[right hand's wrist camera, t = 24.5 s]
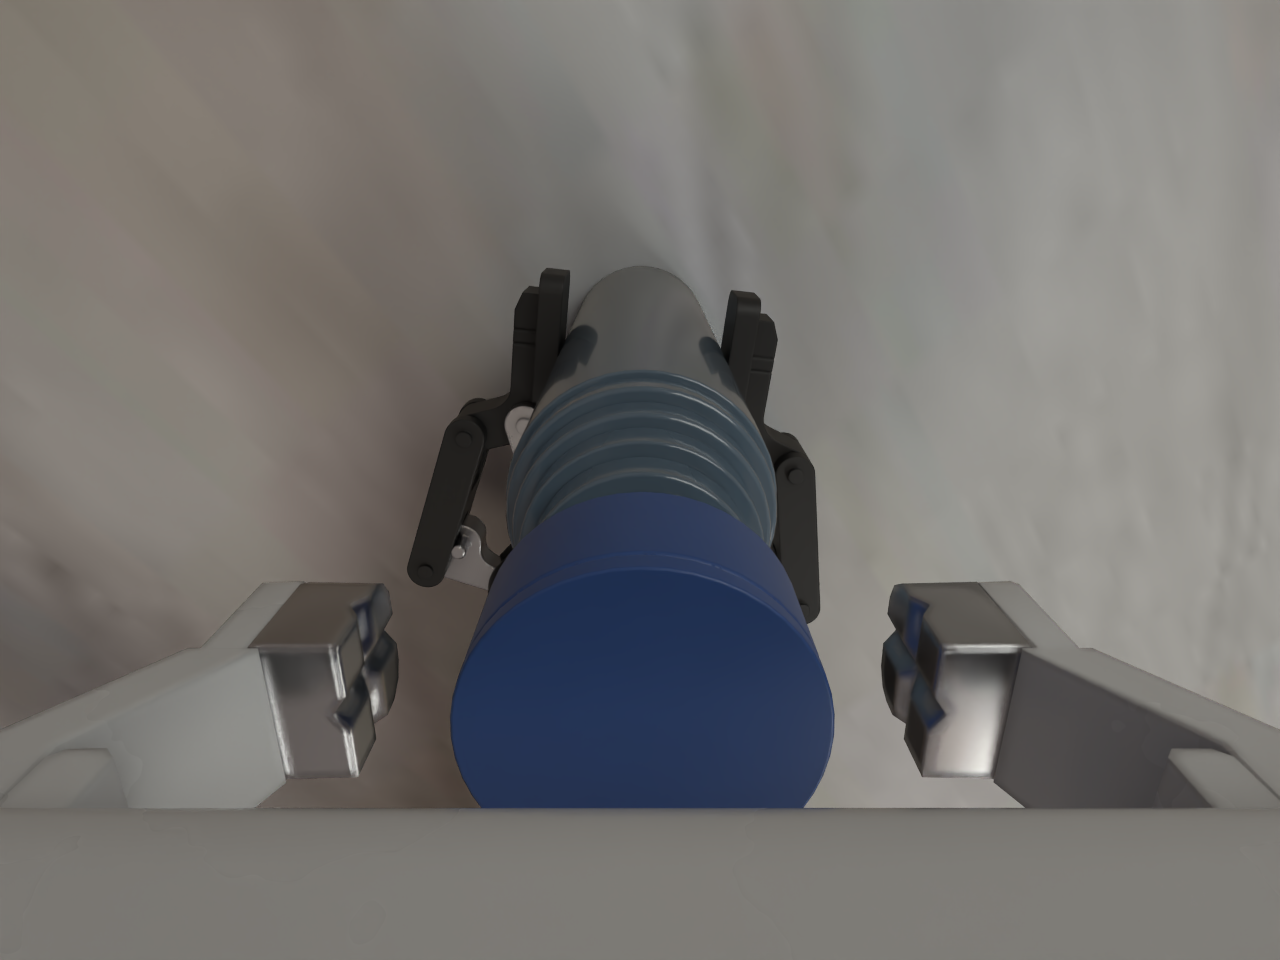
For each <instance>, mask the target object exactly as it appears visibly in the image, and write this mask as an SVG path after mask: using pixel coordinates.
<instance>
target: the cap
mask: <svg viewBox="0 0 1280 960" xmlns="http://www.w3.org/2000/svg"><path fill="white" fill-rule="evenodd" d="M450 726H451V740H452V745H453V750H454V755H455V759H456V762H457V764H458V767H459V770H460V772H461V775H462V778H463V780H464V781H465V783H466V785H467V787H468V789H469V791H470V792H471V794H472V796H473V797H474V799H475V800H476V801H477V803H478V804H479V805H480V807H481V808H804V806H805V805H806V803H807V802H808V801H809V799H810V798H811V796H812V795H813V794H814V792H815V790H816V788H817V786H818V784H819V782H820V780H821V779H822V777H823V774H824V772H825V769H826V766H827V763H828V760H829V757H830V754H831V748H832V743H833V737H834V707H833V700H832V693H831V690H830V687H829V684H828V680H827V677H826V674H825V671H824V669H823V666H822V663H821V661H820V659H819V655H818V653H817V650H816V647H815V645H814V642H813V639H812V636H811V634H810V631H809V628H808V626H807V623H806V620H805V618H804V615H803V612H802V610H801V607H800V604H799V602H798V599H797V596H796V594H795V591H794V588H793V586H792V583H791V581H790V579H789V577H788V575H787V573H786V571H785V569H784V567H783V565H782V564H781V562H780V561H779V560H778V558H777V557H776V555H775V554H774V552H773V551H772V550H771V549H770V548H769V546H768V545H767V544H766V543H765V542H764V541H763V540H762V539H761V538H760V537H759V536H758V535H757V534H756V533H755V532H753V531H752V530H751V529H750V528H748V527H747V526H746V525H745V524H744V523H742V522H740V521H739V520H737V519H736V518H734V517H732V516H731V515H729V514H727V513H726V512H724V511H722V510H719V509H717V508H715V507H713V506H710V505H708V504H706V503H703V502H700V501H696V500H693V499H690V498H687V497H682V496H677V495H671V494H665V493H653V492H632V493H618V494H613V495H608V496H602V497H597V498H594V499H591V500H587V501H585V502H582V503H578V504H576V505H573V506H571V507H569V508H567V509H565V510H563V511H561V512H559V513H556V514H555V515H553V516H552V517H550V518H549V519H547V520H545V521H544V522H542V523H541V524H539V525H538V526H537V527H536V528H534V529H533V530H532V531H531V532H530V533H529V534H527V535H526V536H525V537H524V538H523V539H522V540H521V541H520V542H519V543H518V544H517V546H516V547H515V548H514V549H513V550H512V551H511V552H510V554H509V555H508V557H507V558H506V560H505V561H504V563H503V564H502V566H501V567H500V569H499V571H498V573H497V575H496V577H495V579H494V581H493V584H492V586H491V588H490V591H489V594H488V597H487V599H486V602H485V605H484V608H483V610H482V613H481V616H480V619H479V621H478V624H477V627H476V629H475V632H474V635H473V638H472V640H471V643H470V646H469V649H468V651H467V654H466V657H465V660H464V662H463V665H462V668H461V671H460V673H459V676H458V679H457V683H456V686H455V690H454V693H453V697H452V706H451V714H450Z"/></svg>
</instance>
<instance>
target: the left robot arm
mask: <svg viewBox="0 0 1280 960" xmlns="http://www.w3.org/2000/svg"><path fill="white" fill-rule="evenodd" d="M569 285H570V270H561V269H553V268H546V269H545V270H544V271H543V272H542V273H541V277H540V284H539V287H534V286H529V287H528V288H527V289H526V290H525V291H524V292H523V293H522V295H521V297H520V299H519V301H518V303H517V306H516V308H515V315H514V334H513V353H512V373H511V389H510V392H509V393H508V394H506V395H504V396H501V397H497V398H493V399H489V400H486V399H482V398H475V399H472V400H469V401H468V402H467V403H466V404H465V405H464V406H463V408H462V409H461V411H460V413H459V415H458V417H457V418H455V419H454V420H453V421H452V422H451V423H450V424H449V426H448V427H447V429H446V431H445V434H444V437H443V441H442V444H441V448H440V452H439V455H438V459H437V462H436V466H435V469H434V473H433V477H432V480H431V484H430V487H429V491H428V494H427V498H426V502H425V505H424V509H423V512H422V516H421V519H420V523H419V527H418V530H417V534H416V537H415V541H414V545H413V548H412V552H411V555H410V559H409V562H408V566H407V571H408V575H409V577H410V578H411V580H412V581H413V582H414V583H416V584H418V585H420V586H423V587H433V586H436V585H438V584H439V583H440V582H441V581H442V580H443V578H444V577H446V578H449V579H452V580H456V581H459V582H462V583H465V584H469V585H472V586H475V587H478V588H481V589H485V590H488V594H489V591H490V588H491V586H492V584H493V581H494V579H495V577H496V575H497V573H498V571H499V569H500V567H501V566H502V564H503V563H504V561H505V560H506V558H507V557H508V555H509V554H510V552H511V551H512V550H513V548H512V545H511V544H510V545H509V546H508V547H507V548H506V549H505V550H504V551H503V553H502V554H501V555H500V556H499V555H497V554H495V553H493V552H492V551H491V550H490V549H489V548H488V546H487V544H486V527H485V525H484V523H483V522H482V521H481V520H480V519H479V518H477V517H476V516H473V515H470V514H469V513H470V510H471V507H472V503H473V500H474V497H475V494H476V490H477V487H478V484H479V480H480V477H481V474H482V471H483V467H484V464H485V461H486V457H487V454H488V451H489V449H491V448H496V447H500V446H504V445H509V444H510V446H511V449H512V452H513V454H514V451H515V449H516V447H517V444H518V442H519V440H520V438H521V436H522V434H523V431H524V429H525V427H526V425H527V423H528V421H529V418H530V416H531V414H532V412H533V410H534V408H535V405H536V403H537V401H538V399H539V397H540V395H541V392H542V390H543V388H544V386H545V384H546V382H547V379H548V377H549V375H550V373H551V371H552V369H553V366H554V364H555V362H556V360H557V358H558V356H559V353H560V351H561V349H562V347H563V345H564V343H565V337H566V324H567V311H568V298H569ZM760 312H761V300H760V298H759V297H758V296H757V295H756V294H755V293H752V292H743V291H735V290H731V292H730V295H729V300H728V306H727V312H726V319H725V325H724V332H723V338H722V345H721V351H722V353H723V355H724V357H725V359H726V362H727V364H728V366H729V368H730V370H731V372H732V374H733V376H734V378H735V381H736V383H737V385H738V387H739V389H740V391H741V393H742V395H743V398H744V400H745V402H746V404H747V406H748V408H749V410H750V412H751V415H752V417H753V419H754V421H755V423H756V425H757V427H758V429H759V432H760V434H761V436H762V438H763V440H764V442H765V445H766V447H767V449H768V452H769V454H770V456H771V460H772V464H773V467H774V471H775V478H776V486H777V521H776V527H775V533H774V538H773V541H772V544H771V547H770V549H771V550H772V551H773V552H774V554H775V555H776V557H777V558H778V560H779V561H780V562H781V564H782V565H783V567H784V569H785V571H786V573H787V575H788V577H789V579H790V581H791V583H792V586H793V588H794V591H795V594H796V596H797V599H798V602H799V604H800V607H801V610H802V612H803V615H804V618H805V620H806V623H807V624H808V623H810V622H812V621H813V620H815V619H816V618H817V616H818V614H819V612H820V590H819V564H818V537H817V511H816V485H815V470H814V467H813V465H812V463H811V462H810V460H809V458H808V457H807V455H806V453H805V452H804V450H803V448H802V447H801V445H800V443H799V442H798V440H797V439H796V438H795V437H794V436H793V435H791V434H789V433H780V432H778V431H776V430H774V429H772V428H770V427H769V426H767V425H765V424H764V412H765V407H766V401H767V396H768V390H769V385H770V379H771V372H772V368H773V363H774V357H775V352H776V346H777V341H778V339H777V334H776V330H775V325H774V322H773V321H772V319H771V318H770V317H769V316H768V315H767V314H761V313H760Z"/></svg>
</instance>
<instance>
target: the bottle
mask: <svg viewBox="0 0 1280 960" xmlns="http://www.w3.org/2000/svg"><path fill="white" fill-rule="evenodd" d="M632 492H653V493H665V494H671V495H677V496H682V497H687V498H690V499H693V500H696V501H700V502H703V503H706V504H708V505H710V506H713V507H715V508H717V509H719V510H722V511H724V512H726V513H727V514H729V515H731V516H732V517H734V518H736V519H737V520H739V521H740V522H742V523H744V524H745V525H746V526H747V527H748V528H750V529H751V530H752V531H753V532H755V533H756V534H757V535H758V536H759V537H760V538H761V539H762V540H763V541H764V542H765V543H766V544H767V545H768V546H769V548H770V547H771V544H772V541H773V538H774V533H775V527H776V521H777V486H776V478H775V471H774V467H773V464H772V460H771V456H770V454H769V452H768V449H767V447H766V445H765V442H764V440H763V438H762V436H761V434H760V432H759V429H758V427H757V425H756V423H755V421H754V419H753V417H752V415H751V412H750V410H749V408H748V406H747V404H746V402H745V400H744V398H743V395H742V393H741V391H740V389H739V387H738V385H737V383H736V381H735V378H734V376H733V374H732V372H731V370H730V368H729V366H728V364H727V362H726V359H725V357H724V355H723V353H722V351H721V349H720V347H719V345H718V342H717V340H716V338H715V336H714V334H713V332H712V330H711V328H710V325H709V323H708V321H707V319H706V317H705V315H704V313H703V311H702V308H701V306H700V304H699V302H698V300H697V299H696V297H695V295H694V294H693V292H692V291H691V290H690V289H689V287H688V286H687V285H686V284H685V283H684V282H683V281H681V280H680V279H679V278H677V277H676V276H674V275H672V274H671V273H669V272H667V271H664V270H661V269H658V268H654V267H647V266H633V267H628V268H624V269H621V270H617V271H615V272H613V273H611V274H609V275H607V276H606V277H604V278H603V279H602V280H600V281H599V282H598V283H597V284H596V285H595V286H594V287H593V288H592V289H591V291H590V292H589V293H588V295H587V296H586V298H585V300H584V302H583V304H582V306H581V308H580V310H579V312H578V314H577V317H576V319H575V321H574V323H573V325H572V327H571V330H570V332H569V334H568V336H567V338H566V340H565V343H564V345H563V347H562V349H561V351H560V353H559V356H558V358H557V360H556V362H555V364H554V366H553V369H552V371H551V373H550V375H549V377H548V379H547V382H546V384H545V386H544V388H543V390H542V392H541V395H540V397H539V399H538V401H537V403H536V405H535V408H534V410H533V412H532V414H531V416H530V418H529V421H528V423H527V425H526V427H525V429H524V431H523V434H522V436H521V438H520V440H519V442H518V444H517V447H516V449H515V451H514V454H513V457H512V460H511V463H510V466H509V472H508V478H507V485H506V519H507V527H508V533H509V537H510V541H511V545H512V548H513V549H514V548H515V547H516V546H517V544H518V543H519V542H520V541H521V540H522V539H523V538H524V537H525V536H526V535H527V534H529V533H530V532H531V531H532V530H533V529H534V528H536V527H537V526H538V525H539V524H541V523H542V522H544V521H545V520H547V519H549V518H550V517H552V516H553V515H555V514H556V513H559V512H561V511H563V510H565V509H567V508H569V507H571V506H573V505H576V504H578V503H582V502H585V501H587V500H591V499H594V498H597V497H602V496H608V495H613V494H618V493H632Z"/></svg>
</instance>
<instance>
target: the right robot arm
mask: <svg viewBox="0 0 1280 960" xmlns="http://www.w3.org/2000/svg"><path fill="white" fill-rule="evenodd" d="M391 616H392V608H391V602H390V596H389V591H388V590H387V588H386V587H385V586H384V584H383V583H333V582H307V583H306V582H304V581H292V582H268V583H262V584H261V585H260V586H259V587H258V588H257V589H256V590H255V591H254V592H253V593H252V594H251V595H250V597H249V598H248V599H247V600H246V601H245V602H244V603H243V604H242V605H241V606H240V607H239V608H238V609H237V610H236V611H235V612H234V613H233V614H232V616H231V617H230V618H229V619H228V620H227V621H226V622H225V623H224V624H223V625H222V626H221V627H220V628H219V629H218V630H217V631H216V632H215V633H214V635H213V636H212V637H211V638H210V639H209V640H208V641H207V642H206V643H205V644H204V645H203V646H202V647H201V648H187V649H185V650H182V651H180V652H178V653H176V654H173V655H171V656H169V657H166V658H164V659H162V660H159V661H157V662H155V663H152V664H150V665H148V666H146V667H143V668H141V669H139V670H136V671H134V672H132V673H129V674H127V675H125V676H123V677H120V678H118V679H116V680H113V681H111V682H109V683H106V684H104V685H102V686H99V687H97V688H95V689H93V690H90V691H88V692H86V693H83V694H81V695H79V696H76V697H74V698H72V699H69V700H67V701H65V702H63V703H60V704H58V705H56V706H53V707H51V708H49V709H46V710H44V711H42V712H39V713H37V714H35V715H33V716H30V717H28V718H26V719H23V720H21V721H19V722H16V723H14V724H12V725H9V726H7V727H5V728H3V729H0V960H1280V730H1279V729H1277V728H1275V727H1272V726H1270V725H1268V724H1265V723H1263V722H1261V721H1259V720H1256V719H1254V718H1252V717H1249V716H1247V715H1245V714H1242V713H1240V712H1238V711H1236V710H1233V709H1231V708H1229V707H1226V706H1224V705H1222V704H1219V703H1217V702H1215V701H1213V700H1210V699H1208V698H1206V697H1203V696H1201V695H1199V694H1196V693H1194V692H1192V691H1190V690H1187V689H1185V688H1183V687H1180V686H1178V685H1176V684H1173V683H1171V682H1169V681H1167V680H1164V679H1162V678H1160V677H1157V676H1155V675H1153V674H1150V673H1148V672H1146V671H1144V670H1141V669H1139V668H1137V667H1134V666H1132V665H1130V664H1127V663H1125V662H1123V661H1121V660H1118V659H1116V658H1114V657H1111V656H1109V655H1107V654H1104V653H1102V652H1100V651H1098V650H1095V649H1093V648H1079V647H1078V646H1077V645H1076V644H1075V643H1074V642H1073V641H1072V640H1071V639H1070V638H1069V637H1068V635H1067V634H1066V633H1065V632H1064V631H1063V630H1062V629H1061V628H1060V627H1059V626H1058V625H1057V624H1056V623H1055V622H1054V621H1053V620H1052V619H1051V618H1050V616H1049V615H1048V614H1047V613H1046V612H1045V611H1044V610H1043V609H1042V608H1041V607H1040V606H1039V605H1038V604H1037V603H1036V602H1035V601H1034V600H1033V598H1032V597H1031V596H1030V595H1029V594H1028V593H1027V592H1026V591H1025V590H1024V589H1023V588H1022V587H1021V586H1020V585H1019V584H1017V583H1014V582H1011V581H999V582H951V583H909V584H898V585H894V588H893V590H892V593H891V596H890V600H889V607H888V616H889V617H890V619H891V621H892V623H893V625H894V627H895V628H896V631H895V632H894V633H893V634H892V635H891V636H890V637H889V638H888V639H887V640H886V641H885V642H884V643H883V653H882V663H881V670H882V684H883V690H884V694H885V697H886V701H887V703H888V706H889V708H890V710H891V712H892V715H894V716H895V717H897V718H898V719H900V720H901V721H903V722H904V723H906V728H905V735H904V740H905V742H906V744H907V746H908V748H909V751H910V753H911V755H912V757H913V759H914V761H915V763H916V765H917V767H918V769H919V771H920V773H921V775H922V777H937V778H974V779H994V783H995V784H997V785H998V786H999V787H1000V788H1001V789H1003V790H1004V791H1005V792H1006V793H1008V794H1009V795H1010V796H1011V797H1013V798H1014V799H1015V800H1016V801H1018V802H1019V803H1020V804H1021V805H1023V806H1024V807H1025V808H255V807H256V806H258V805H259V804H260V803H261V802H263V801H264V800H265V799H266V798H268V797H269V796H270V795H271V794H273V793H274V792H275V791H276V790H278V789H279V788H280V787H281V786H283V785H284V784H285V783H286V779H305V778H341V777H358V776H359V774H360V771H361V769H362V767H363V765H364V763H365V761H366V759H367V757H368V755H369V753H370V751H371V748H372V746H373V744H374V742H375V740H376V735H375V728H374V723H376V722H377V721H379V720H380V719H382V718H383V717H385V716H386V715H388V712H389V710H390V708H391V706H392V703H393V701H394V698H395V693H396V688H397V683H398V665H399V659H398V651H397V643H396V642H395V641H394V640H393V639H392V638H391V637H390V636H389V635H388V634H387V633H386V632H385V631H384V628H385V627H386V625H387V623H388V621H389V619H390V617H391Z"/></svg>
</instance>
